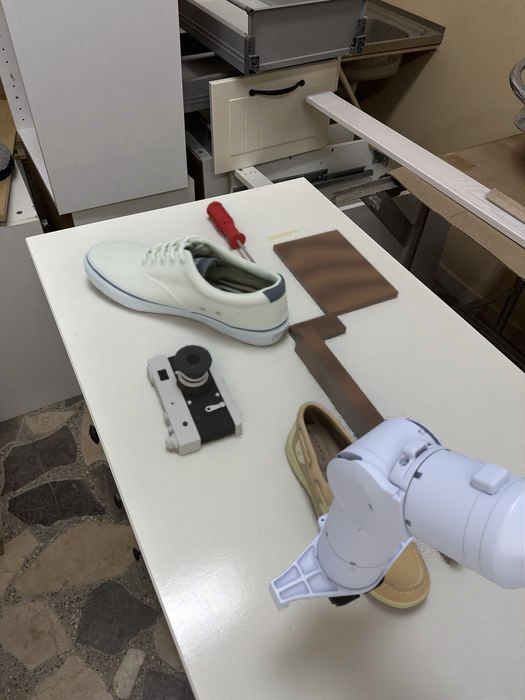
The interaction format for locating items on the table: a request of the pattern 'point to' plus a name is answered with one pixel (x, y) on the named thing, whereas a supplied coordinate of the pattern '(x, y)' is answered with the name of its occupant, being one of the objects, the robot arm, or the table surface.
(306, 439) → the boat shoe
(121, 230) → the table surface
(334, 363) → the wooden paddle board
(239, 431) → the camera
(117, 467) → the table surface
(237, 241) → the screwdriver
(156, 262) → the sneaker
